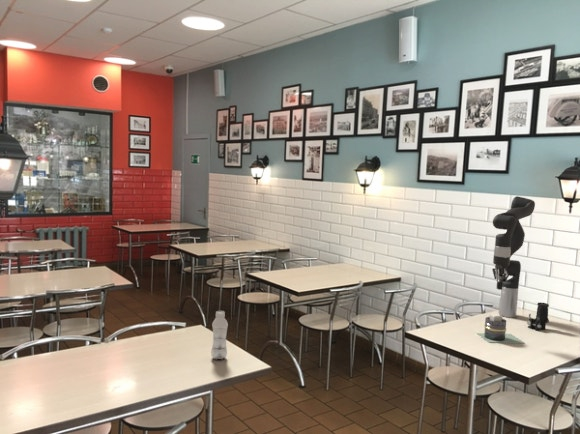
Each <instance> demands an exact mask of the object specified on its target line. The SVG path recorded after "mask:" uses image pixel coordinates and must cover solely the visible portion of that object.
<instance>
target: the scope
mask: <svg viewBox="0 0 580 434" xmlns="http://www.w3.org/2000/svg"><path fill="white" fill-rule="evenodd" d="M549 306H550V305H549V303H546V302H537V309H536V315H535V318H533V317H531V313H529V314H528V319H527V320H528V321H527V322H526V325H527V328H528V329H530V330H531V329H532V330H535V332H536V331H537V332H539V331H542V330H543V331H545V330H546V325H547V324H548V323H550V319H549Z"/></svg>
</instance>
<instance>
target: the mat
mask: <svg viewBox="0 0 580 434" xmlns="http://www.w3.org/2000/svg"><path fill="white" fill-rule="evenodd" d="M476 335H478V336H479V337H480V336H481V338H482V339H483V340H484V341H486V342H487V343H490V344H525V342H524V341H523V340H522V339H519V337H516V336H515V335H513V334H512V333H505V340H504V341H494V340H490V339H487V338H485V337H484V332H483V333H482V332H480V333H476Z"/></svg>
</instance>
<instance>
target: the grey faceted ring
mask: <svg viewBox="0 0 580 434" xmlns="http://www.w3.org/2000/svg"><path fill="white" fill-rule="evenodd" d="M506 331H507V319H505V318H502V322H496V321H491V320H490V316H487V317H485V321H484V332H483V333H484V337H485V338H487V339H490V340H494V341H504V340H505V334H506V333H507V332H506Z"/></svg>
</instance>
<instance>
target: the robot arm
mask: <svg viewBox="0 0 580 434" xmlns="http://www.w3.org/2000/svg"><path fill="white" fill-rule="evenodd" d="M535 207H536V202H535V200H533V199H531V198H527V197H522V196H515V197H513V198H512V201H511V205H510V208H509V209H508V210H506V212H501V213H498V214H496V215H494V217H493V219H492V225H493V227H494V228H495V229H498V230H506V232H505V233H498V234H496V235H495V242H494V248H493V259H492V260H493V261H492V262H493V265H494V268H492V269H491V270H492V274H493V277H494V278H493V279H494V280H495V281H496V289H497V290H500V297H499V304H498V305H499V307H498V315H500V316H501V317H505V318H516V317H517V309H518V298H519V284H520V275H521V269H522V267H521V266H522V265H521V262H520V261H519V260H513V259H511V257H512V256H513V255H514V254H515V253H516V252H518V251H519V250H520V249H521V248H522V247H523V245H524V241H525V235H526V233H525V230H524V228H523V226H522V224H521V222H520V220H522V219H524V218H527V217H530V216H531V215H532V214H533V212H534V210H535ZM509 277H511V278H509Z"/></svg>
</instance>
